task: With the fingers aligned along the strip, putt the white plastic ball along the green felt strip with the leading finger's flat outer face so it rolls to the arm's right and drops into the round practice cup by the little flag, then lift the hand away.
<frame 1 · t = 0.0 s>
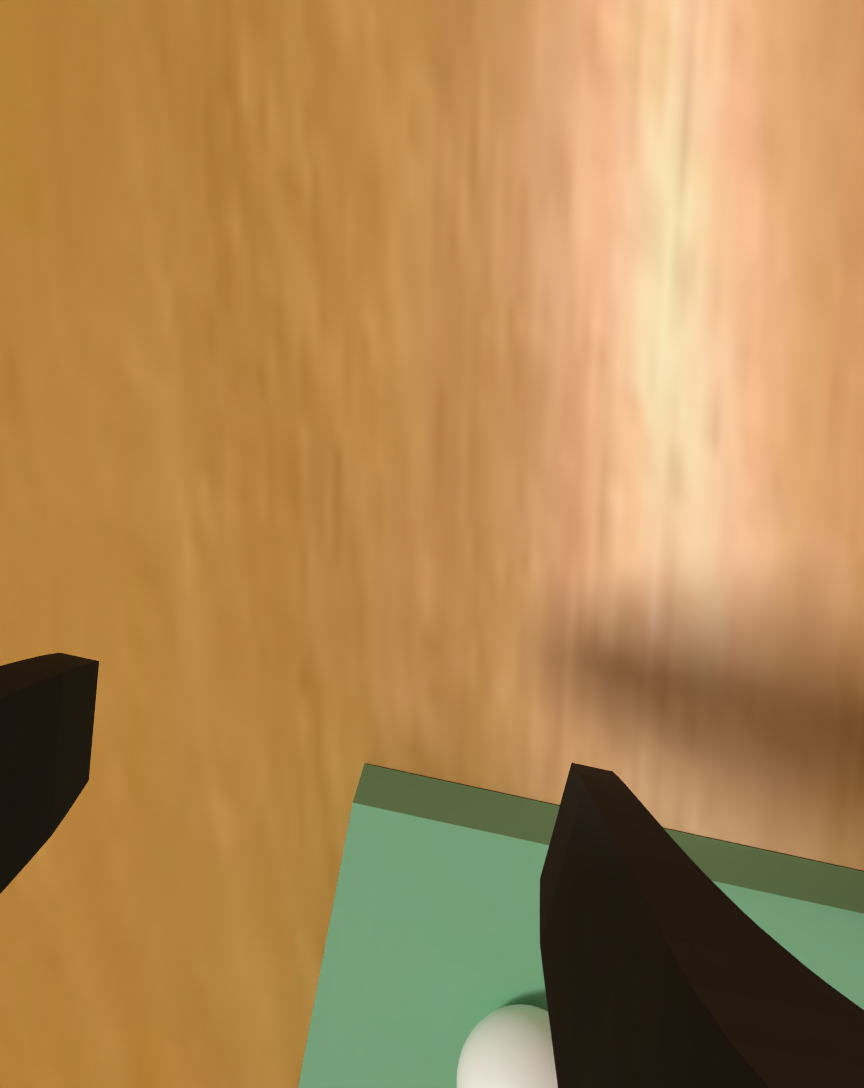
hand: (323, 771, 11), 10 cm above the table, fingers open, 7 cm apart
green: (707, 1012, 24), on the table
ball: (521, 1025, 22), point 2 cm above the table, touching green
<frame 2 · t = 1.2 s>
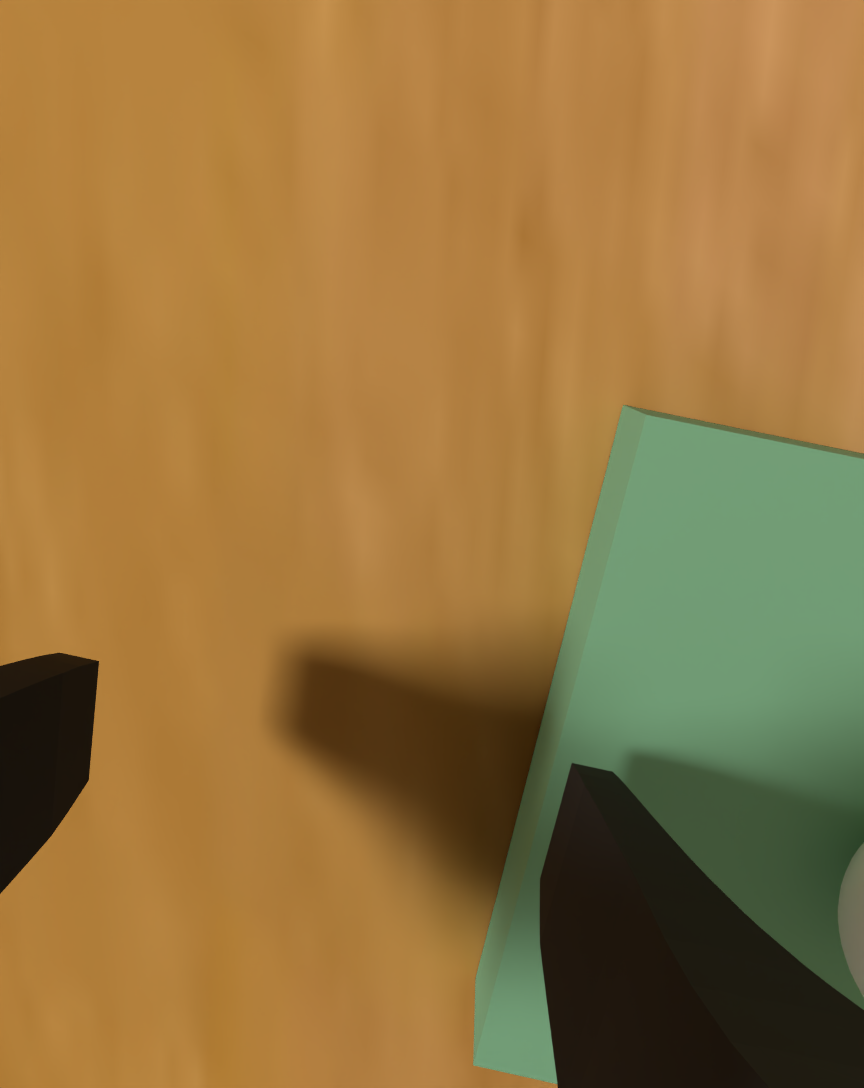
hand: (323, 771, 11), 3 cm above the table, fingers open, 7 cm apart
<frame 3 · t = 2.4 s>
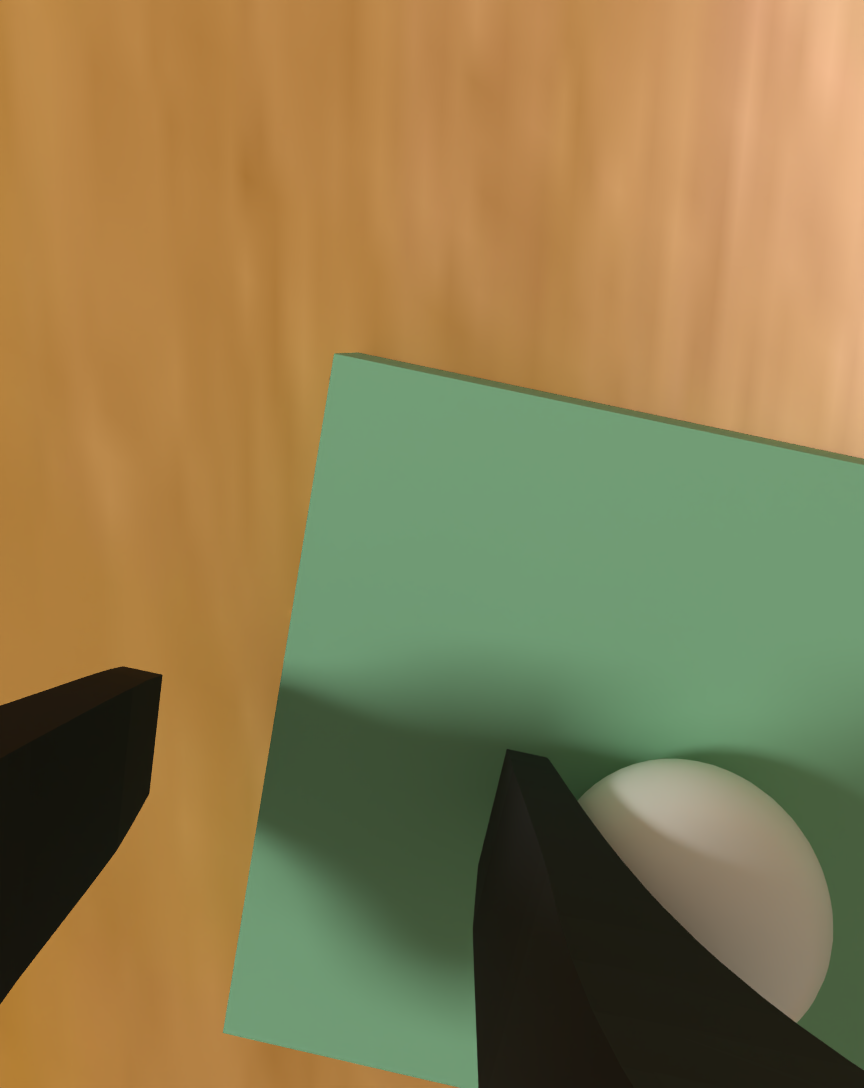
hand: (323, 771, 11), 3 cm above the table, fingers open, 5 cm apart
ball: (643, 818, 12), point 2 cm above the table, tilted 5°, touching green, gripper
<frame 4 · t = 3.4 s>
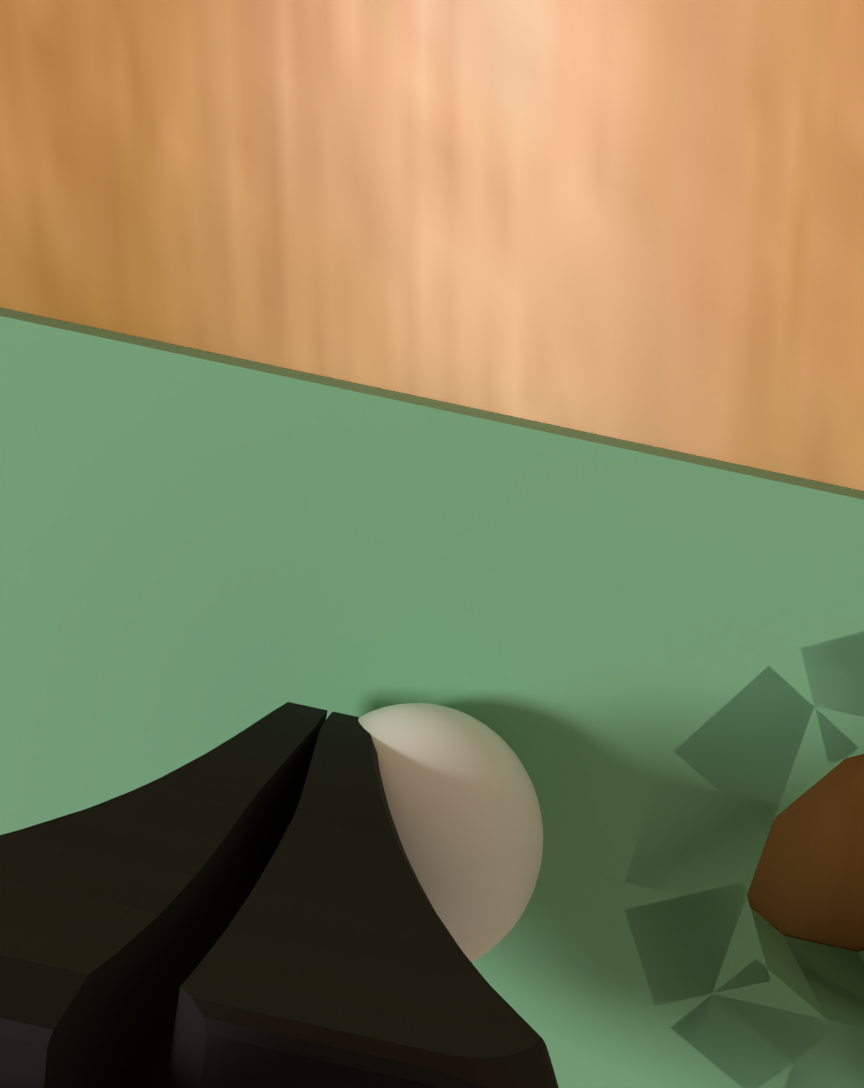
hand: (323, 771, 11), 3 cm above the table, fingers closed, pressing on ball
green: (554, 754, 15), on the table
ball: (289, 855, 10), point 5 cm above the table, tilted 117°, touching green, gripper
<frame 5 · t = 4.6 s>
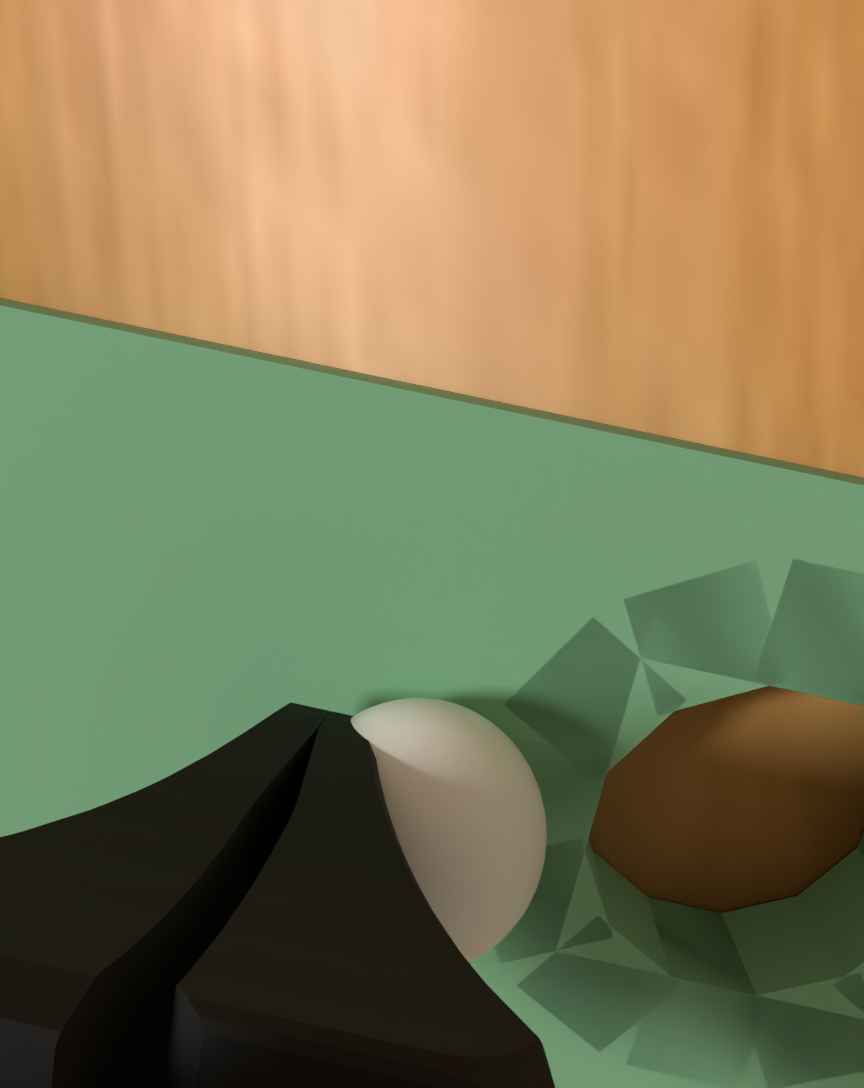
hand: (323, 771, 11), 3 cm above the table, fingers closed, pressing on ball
green: (411, 714, 14), on the table
ball: (470, 937, 9), point 5 cm above the table, tilted 150°, touching green, gripper
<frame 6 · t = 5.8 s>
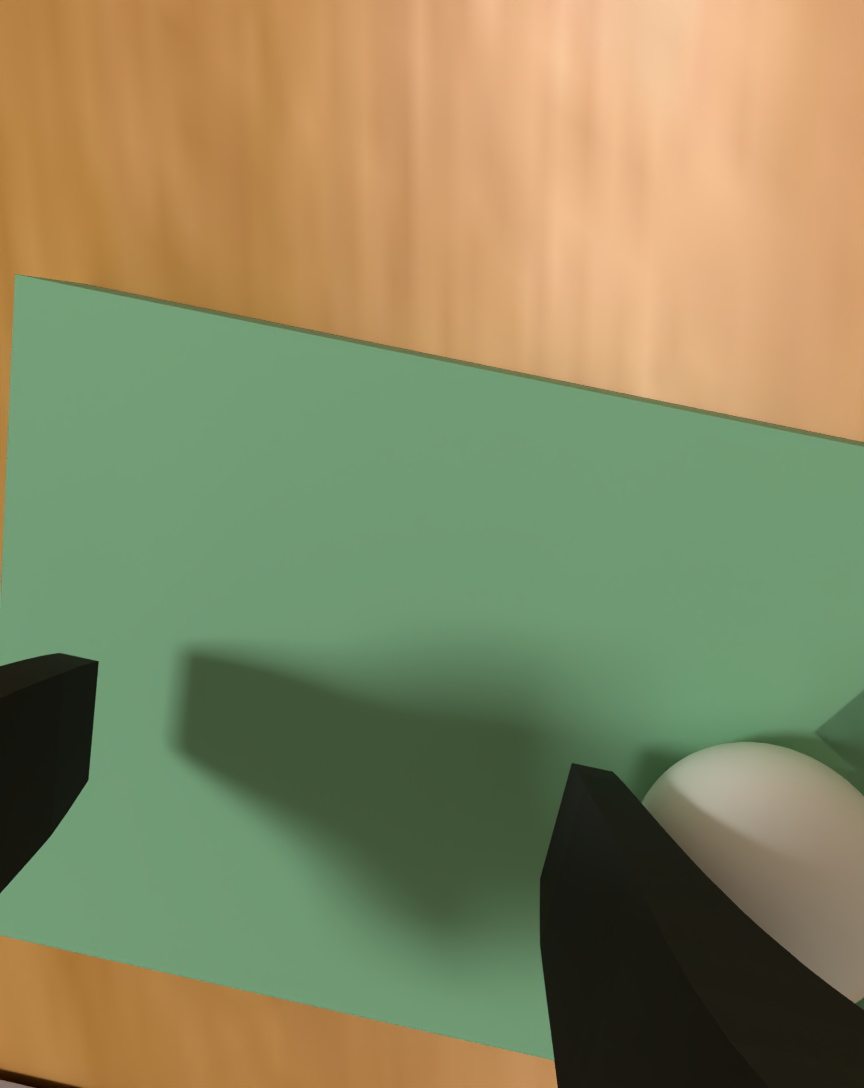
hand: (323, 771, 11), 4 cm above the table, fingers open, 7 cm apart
green: (673, 735, 15), on the table
ball: (853, 998, 9), point 5 cm above the table, tilted 151°, touching green
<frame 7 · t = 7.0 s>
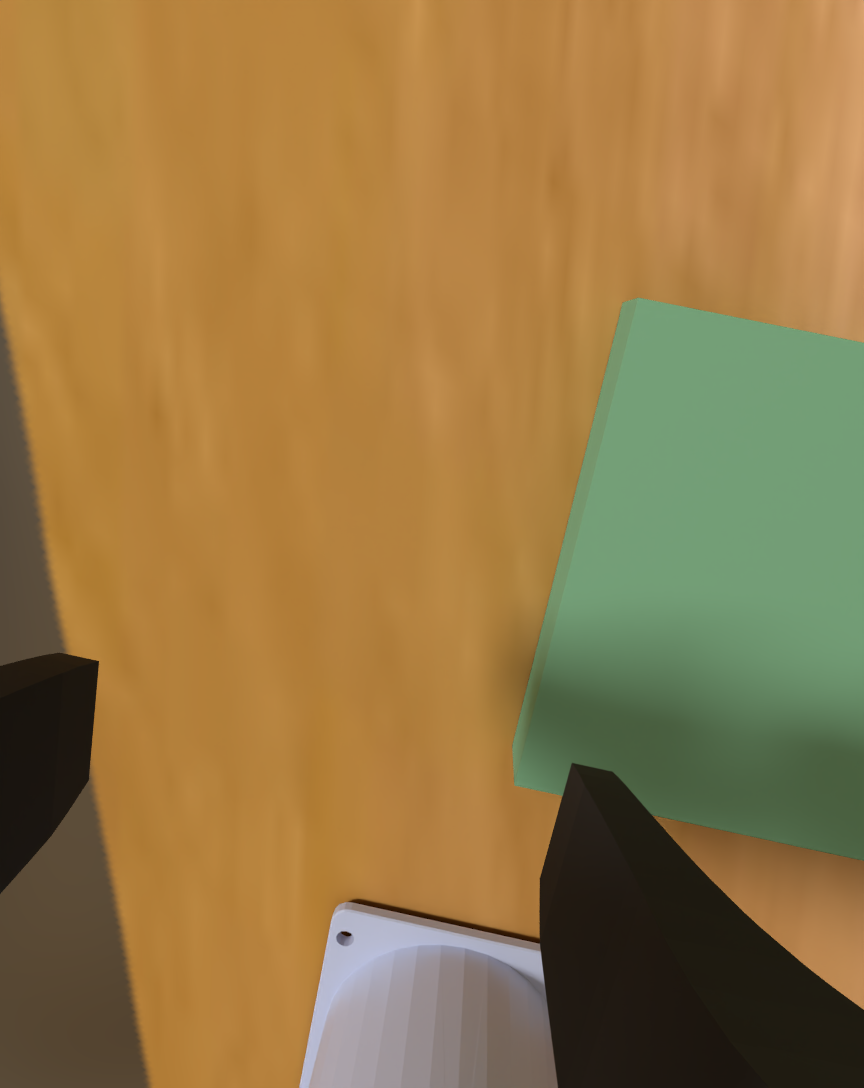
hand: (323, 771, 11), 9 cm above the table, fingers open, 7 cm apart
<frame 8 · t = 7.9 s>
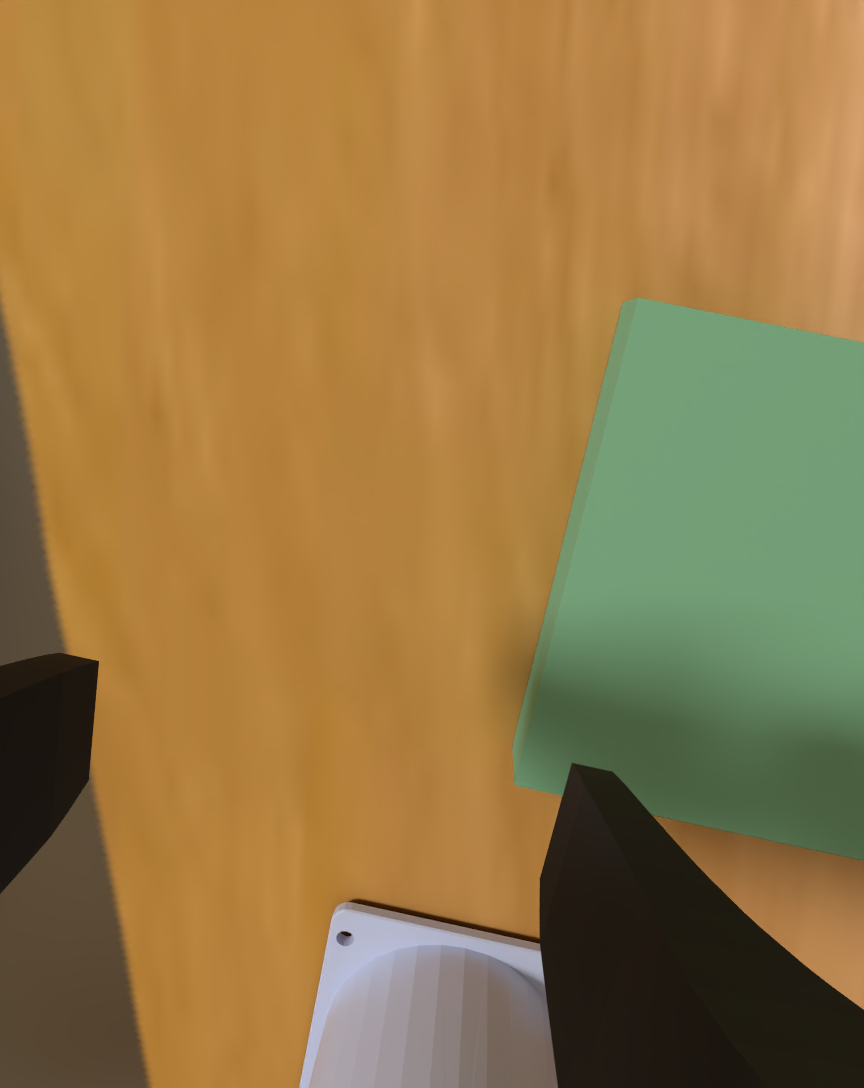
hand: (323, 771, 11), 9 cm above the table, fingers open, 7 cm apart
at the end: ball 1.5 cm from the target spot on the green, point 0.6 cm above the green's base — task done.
